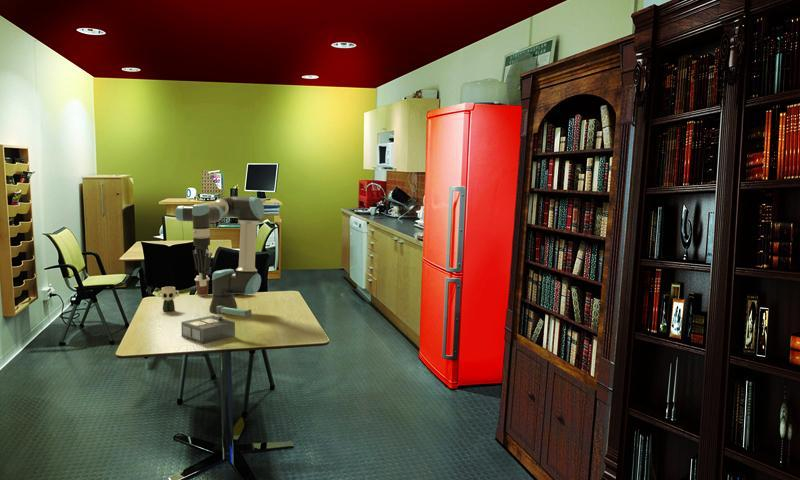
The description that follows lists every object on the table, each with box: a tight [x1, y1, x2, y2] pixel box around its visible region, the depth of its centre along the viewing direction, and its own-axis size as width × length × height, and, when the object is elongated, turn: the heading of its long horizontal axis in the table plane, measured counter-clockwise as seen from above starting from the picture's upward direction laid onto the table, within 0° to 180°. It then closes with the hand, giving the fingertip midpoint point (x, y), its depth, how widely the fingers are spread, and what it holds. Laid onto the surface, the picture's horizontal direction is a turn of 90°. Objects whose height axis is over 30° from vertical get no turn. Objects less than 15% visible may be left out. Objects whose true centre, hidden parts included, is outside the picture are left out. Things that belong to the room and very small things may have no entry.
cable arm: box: [216, 306, 252, 319], centre depth 267 cm, size 19×3×3 cm, turn 66°
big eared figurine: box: [157, 286, 180, 312], centre depth 313 cm, size 11×7×13 cm, turn 107°
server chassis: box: [181, 313, 236, 345], centre depth 266 cm, size 18×17×10 cm
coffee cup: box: [194, 274, 211, 297], centre depth 356 cm, size 9×9×12 cm
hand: (203, 285), depth 269 cm, fingers closed
